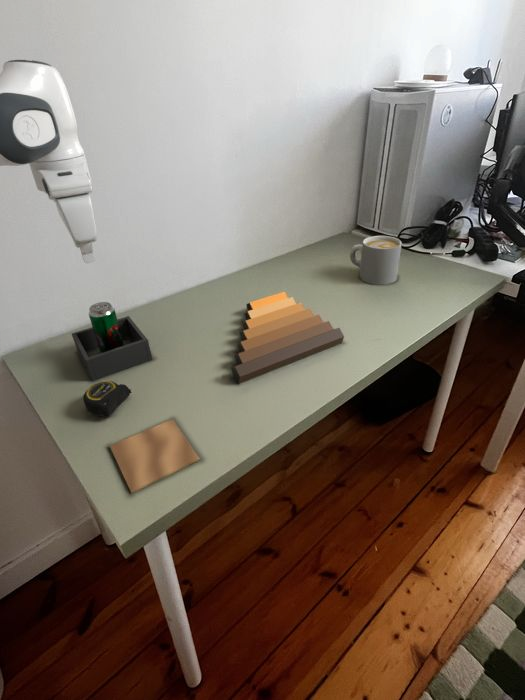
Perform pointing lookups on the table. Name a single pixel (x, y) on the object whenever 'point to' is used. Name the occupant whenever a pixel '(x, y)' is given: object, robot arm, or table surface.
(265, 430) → the table surface
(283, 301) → the pan flute
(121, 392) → the tape measure
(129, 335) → the black box
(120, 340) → the soda can
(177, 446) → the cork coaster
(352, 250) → the coffee mug
